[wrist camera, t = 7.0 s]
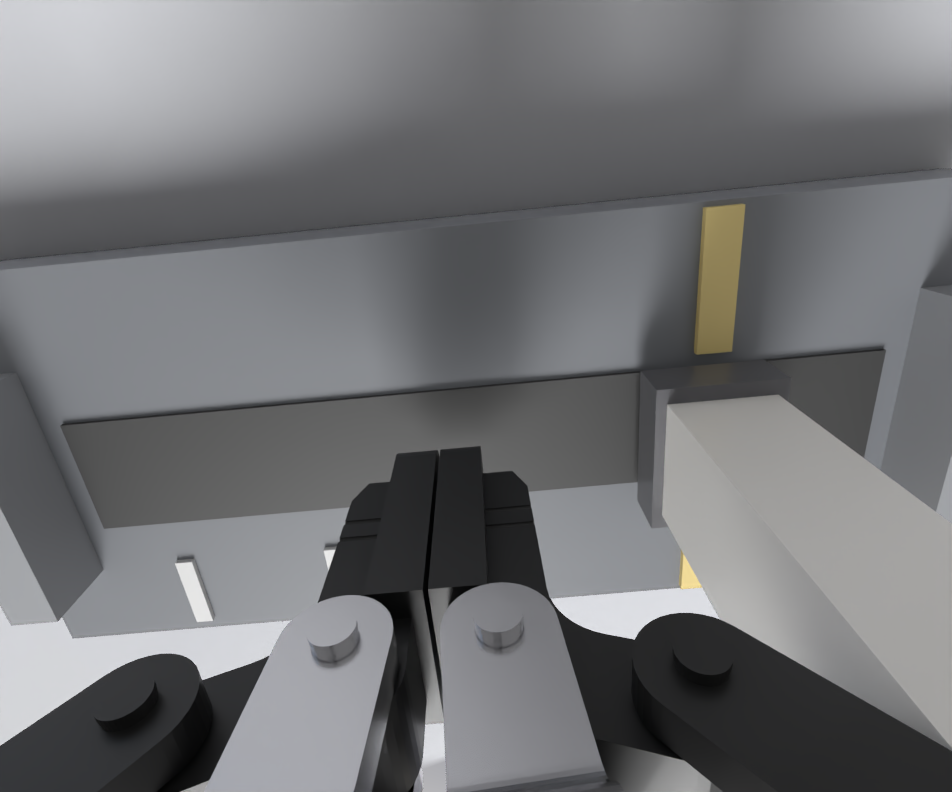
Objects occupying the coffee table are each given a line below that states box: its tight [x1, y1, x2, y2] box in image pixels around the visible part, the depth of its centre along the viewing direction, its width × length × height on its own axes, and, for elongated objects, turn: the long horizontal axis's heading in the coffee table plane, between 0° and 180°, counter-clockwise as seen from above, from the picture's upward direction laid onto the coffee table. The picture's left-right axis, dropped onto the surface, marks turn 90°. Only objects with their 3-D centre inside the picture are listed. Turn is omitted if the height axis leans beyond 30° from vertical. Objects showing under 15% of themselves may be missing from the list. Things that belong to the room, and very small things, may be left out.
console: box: [0, 169, 952, 638], centre depth 12 cm, size 9×21×4 cm, turn 95°
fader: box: [637, 360, 952, 751], centre depth 8 cm, size 3×2×8 cm
